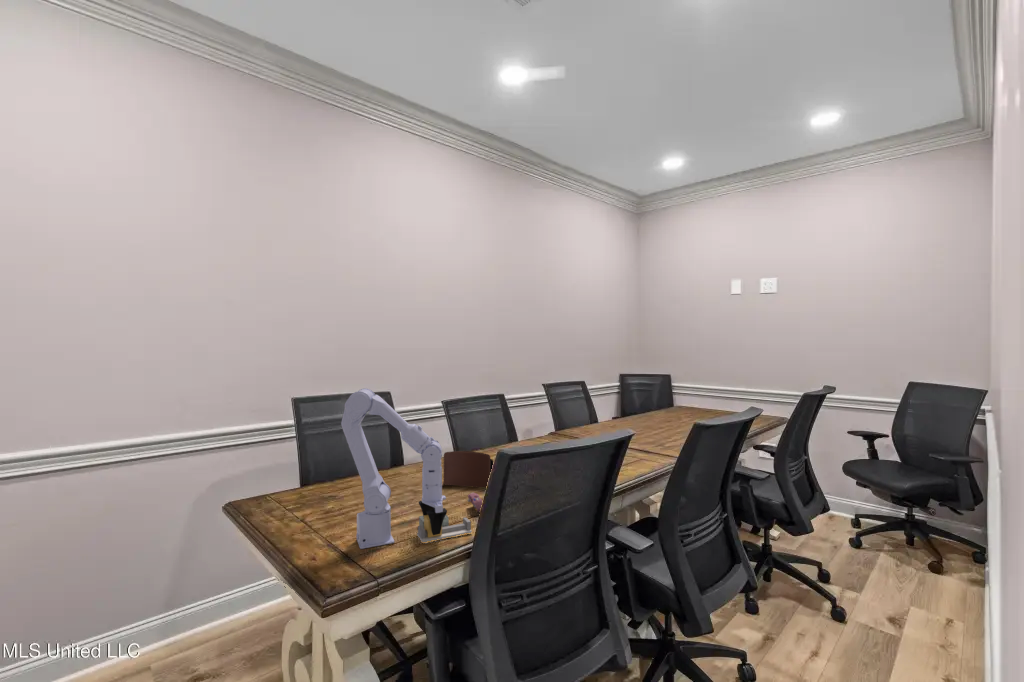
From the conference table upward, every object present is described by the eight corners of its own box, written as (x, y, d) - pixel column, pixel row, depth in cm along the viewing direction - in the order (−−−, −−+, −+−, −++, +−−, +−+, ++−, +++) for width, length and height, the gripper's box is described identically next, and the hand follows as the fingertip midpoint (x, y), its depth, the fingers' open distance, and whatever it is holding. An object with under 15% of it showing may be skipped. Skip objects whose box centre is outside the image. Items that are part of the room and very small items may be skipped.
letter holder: (490, 488, 184) (489, 452, 184) (443, 485, 189) (442, 450, 189) (497, 481, 194) (496, 447, 194) (452, 478, 199) (451, 445, 199)
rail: (422, 544, 134) (422, 532, 134) (417, 536, 139) (417, 524, 139) (471, 534, 140) (471, 522, 140) (465, 527, 146) (465, 516, 146)
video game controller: (472, 510, 165) (463, 493, 164) (483, 502, 166) (474, 486, 165) (480, 520, 155) (471, 502, 154) (492, 512, 157) (483, 494, 156)
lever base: (423, 531, 142) (423, 520, 142) (419, 525, 147) (419, 515, 147) (448, 526, 146) (448, 516, 146) (443, 521, 150) (443, 511, 150)
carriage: (428, 537, 135) (428, 521, 135) (424, 531, 140) (424, 515, 140) (442, 535, 137) (442, 518, 137) (437, 529, 141) (437, 513, 141)
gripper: (452, 488, 133) (453, 535, 133) (438, 475, 146) (438, 518, 146) (428, 491, 130) (429, 540, 130) (415, 478, 143) (416, 522, 143)
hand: (432, 529), depth 138 cm, fingers open, 7 cm apart
